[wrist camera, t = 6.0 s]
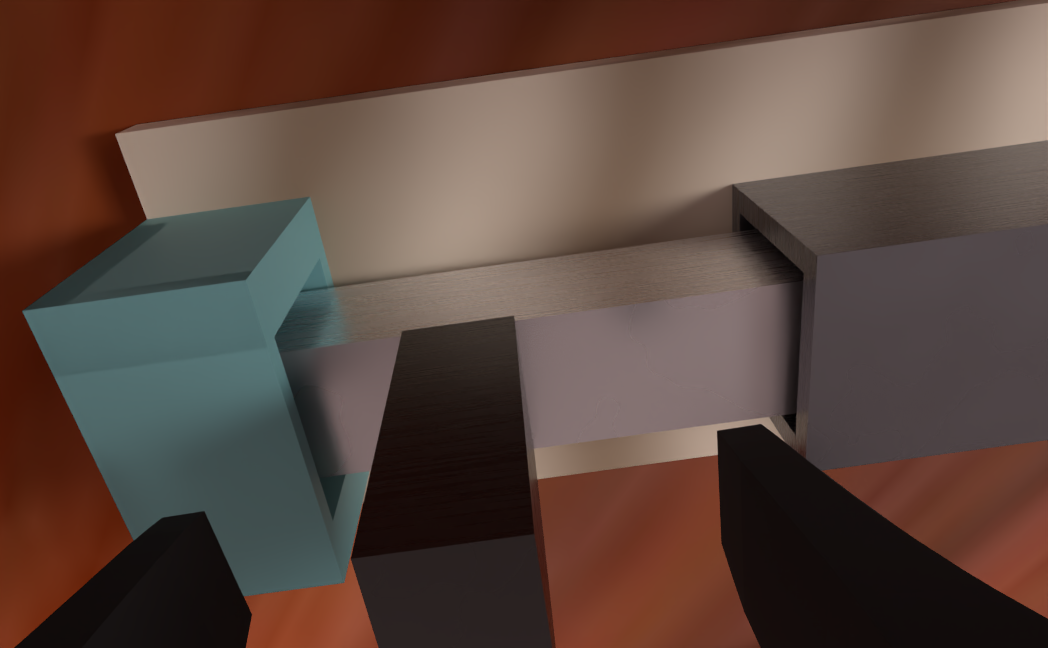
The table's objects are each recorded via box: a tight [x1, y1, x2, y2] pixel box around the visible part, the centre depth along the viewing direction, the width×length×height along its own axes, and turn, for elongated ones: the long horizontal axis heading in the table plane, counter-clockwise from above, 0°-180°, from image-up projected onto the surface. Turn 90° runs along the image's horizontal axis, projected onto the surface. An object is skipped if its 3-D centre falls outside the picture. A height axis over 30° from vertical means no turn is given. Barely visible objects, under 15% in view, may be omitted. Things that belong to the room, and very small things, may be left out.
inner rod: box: [274, 229, 804, 648], centre depth 12 cm, size 14×3×8 cm, turn 97°
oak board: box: [115, 0, 1048, 503], centre depth 17 cm, size 20×10×1 cm, turn 97°
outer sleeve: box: [732, 140, 1048, 470], centre depth 14 cm, size 8×4×4 cm, turn 97°
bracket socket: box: [22, 197, 369, 596], centre depth 15 cm, size 4×6×5 cm, turn 7°
